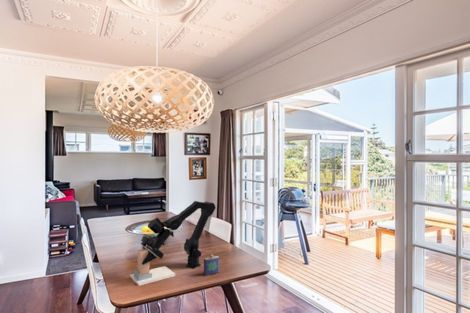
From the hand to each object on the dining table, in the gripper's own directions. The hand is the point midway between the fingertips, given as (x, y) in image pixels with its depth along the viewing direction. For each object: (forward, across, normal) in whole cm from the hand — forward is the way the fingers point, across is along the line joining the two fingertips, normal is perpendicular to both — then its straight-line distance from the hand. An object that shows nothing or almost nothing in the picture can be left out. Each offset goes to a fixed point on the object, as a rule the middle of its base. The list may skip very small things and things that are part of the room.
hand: (140, 263), depth 154 cm
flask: (-18, +16, +30) cm, 39 cm away
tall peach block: (+4, 0, +6) cm, 7 cm away
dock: (+2, 0, +11) cm, 11 cm away
